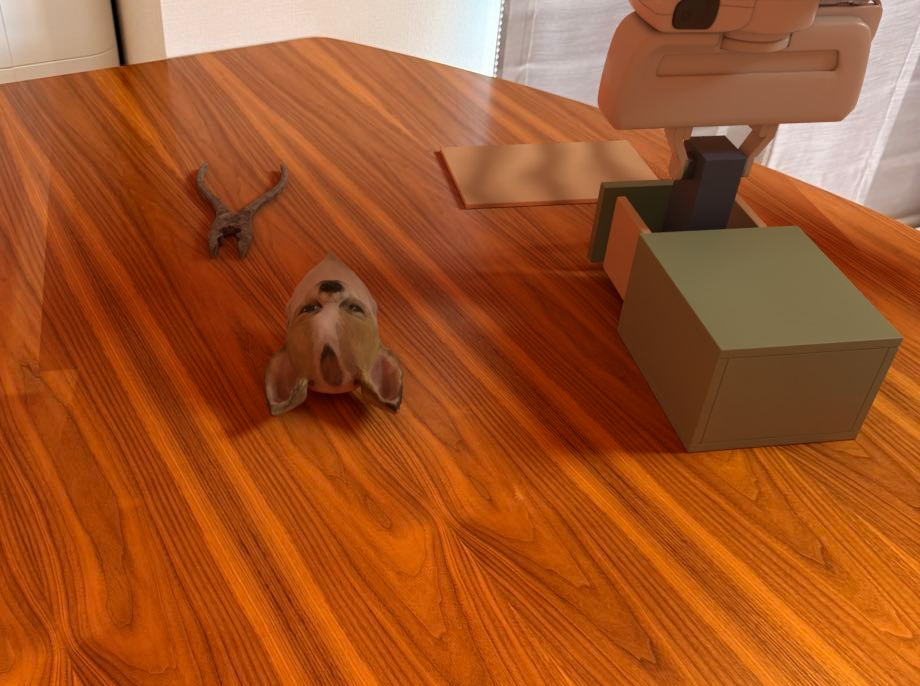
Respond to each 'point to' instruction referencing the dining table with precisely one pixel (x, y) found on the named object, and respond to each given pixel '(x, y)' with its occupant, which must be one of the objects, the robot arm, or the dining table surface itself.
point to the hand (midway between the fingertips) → (707, 176)
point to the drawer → (639, 223)
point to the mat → (541, 172)
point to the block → (706, 186)
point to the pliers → (234, 214)
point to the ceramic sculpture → (332, 344)
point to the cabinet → (753, 338)
